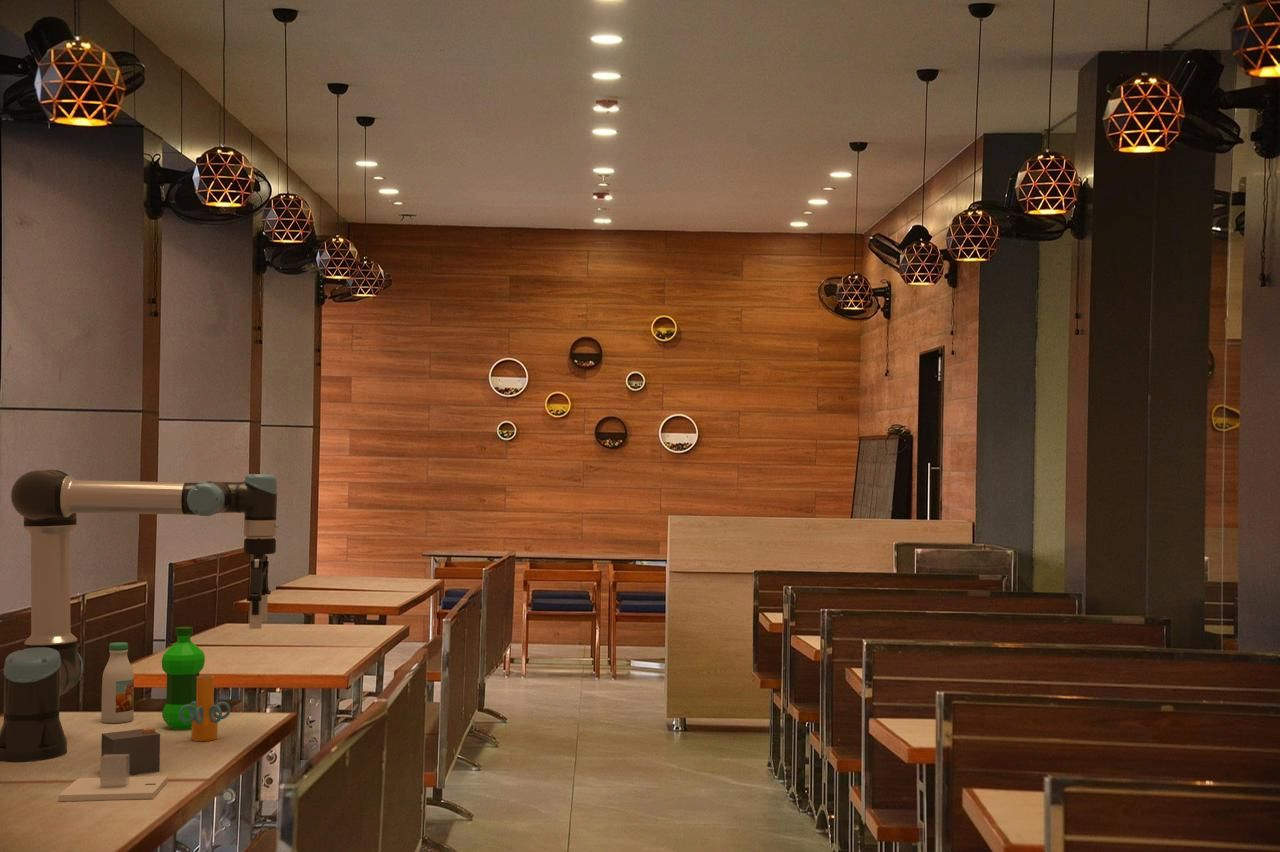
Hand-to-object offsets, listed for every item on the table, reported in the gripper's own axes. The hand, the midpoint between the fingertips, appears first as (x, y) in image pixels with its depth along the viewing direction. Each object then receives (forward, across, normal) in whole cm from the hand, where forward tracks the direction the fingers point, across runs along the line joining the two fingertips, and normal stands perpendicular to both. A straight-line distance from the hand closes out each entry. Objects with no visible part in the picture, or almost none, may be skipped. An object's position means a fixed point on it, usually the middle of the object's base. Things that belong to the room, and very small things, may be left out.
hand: (258, 625), depth 325 cm
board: (+28, -49, +23) cm, 60 cm away
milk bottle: (+28, +27, +37) cm, 54 cm away
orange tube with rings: (+28, +1, +12) cm, 30 cm away
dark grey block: (+28, -30, +23) cm, 47 cm away
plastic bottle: (+28, +16, +20) cm, 38 cm away
